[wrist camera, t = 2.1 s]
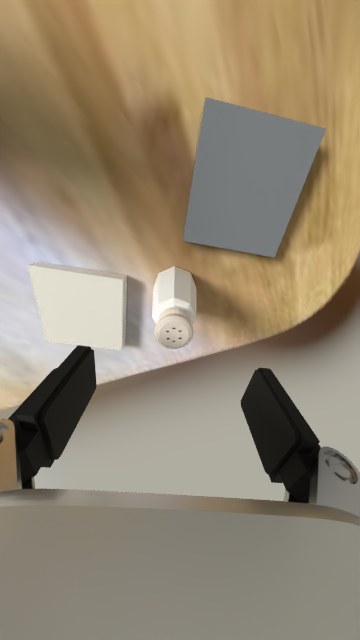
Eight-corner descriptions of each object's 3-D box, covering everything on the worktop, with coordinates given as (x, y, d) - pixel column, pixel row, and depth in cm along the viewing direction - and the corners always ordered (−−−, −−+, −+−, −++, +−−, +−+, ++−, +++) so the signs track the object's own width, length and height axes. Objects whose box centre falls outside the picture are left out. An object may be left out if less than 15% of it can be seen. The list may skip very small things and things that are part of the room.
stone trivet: (40, 261, 20) (27, 265, 18) (127, 275, 21) (122, 279, 19) (55, 333, 25) (45, 341, 23) (125, 341, 26) (121, 350, 24)
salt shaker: (152, 265, 21) (130, 299, 11) (197, 265, 21) (215, 298, 11) (155, 307, 23) (140, 364, 14) (195, 307, 23) (209, 363, 14)
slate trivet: (202, 112, 15) (205, 97, 13) (309, 140, 16) (326, 128, 14) (182, 239, 19) (182, 240, 18) (266, 255, 20) (274, 257, 19)
